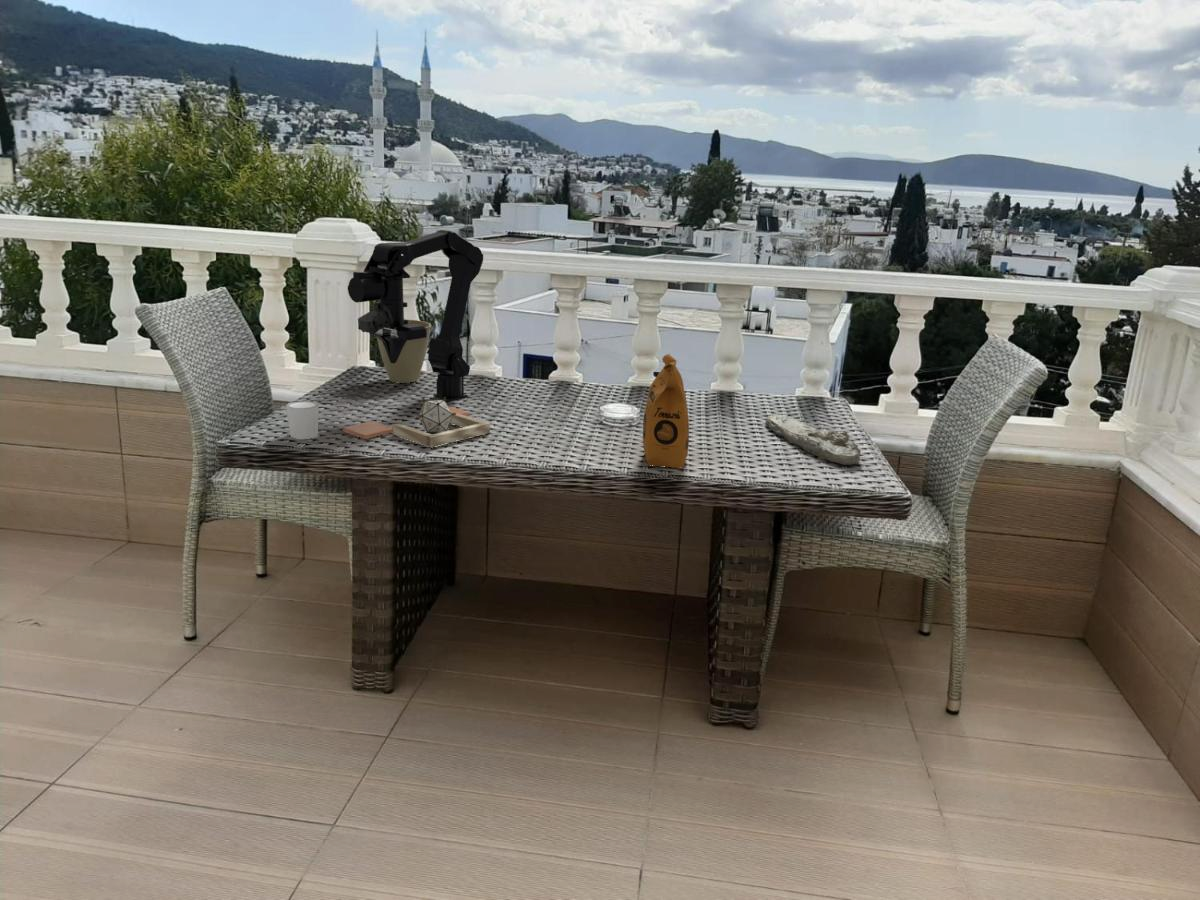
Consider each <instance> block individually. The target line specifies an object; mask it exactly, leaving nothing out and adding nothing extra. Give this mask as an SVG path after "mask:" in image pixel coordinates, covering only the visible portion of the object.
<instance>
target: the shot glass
mask: <svg viewBox="0 0 1200 900" xmlns="http://www.w3.org/2000/svg"><path fill="white" fill-rule="evenodd" d="M285 409H286V415H287V422H288V428H289V435H290V438H292V437H293V438H292V439H294V438H299V439H298V440H311V439H310V438H312V439H314V437H315V438H316V436H317V437H318V432H319V431H318V429H319V428H318V427H319V414H320V413H319V412H320V411H319V410H320V404H319V403H317V402H315V401H306V400H305V401H294V402H290V403H287V404H286V405H285Z"/></svg>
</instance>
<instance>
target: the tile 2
mask: <svg viewBox="0 0 1200 900" xmlns="http://www.w3.org/2000/svg"><path fill="white" fill-rule="evenodd" d="M448 407H449V408H450V410H451V411H452V412H454V413H458V414H461V415H464V416H468V417H470V416H469V414H470V412H469V411H467V410H463V409H459V408H457V407H453V406H451V405H448Z"/></svg>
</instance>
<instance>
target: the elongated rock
mask: <svg viewBox="0 0 1200 900" xmlns="http://www.w3.org/2000/svg"><path fill="white" fill-rule="evenodd" d="M764 425H765V427H766V428H769V429H770V430H771V431H773V432H774V433H776V434H777V435H778V436H779V437H781V438H783V439H785V440H786V441H788V442H789V443H790V444H792V445H795V446H798V447H800V448H802V449H803V450H804V451H805V452H808V453H809V454H812V455H814V456H816V457H818V458H819V459H821V460H823V461H829V462H831V463H836V464H840V465H844V466H845V465H846V466H847V465H854V464H858V462H860V459H861V456H860V455H861V449H859V448H858V444H856V443H855V442H854V441H852V440H851V439H850V438H849V437H850V435H849V434H848V433H847V432H846V431H839V430H836V431H833V430H818V429H817V428H816V427H814V426H811V425H808V424H806V423H805V422H802V421H800V420H798V419H795V418H794V417H792V416H791V415H790V416H788V415H786V414H772V415H769V416H767V418H766V419H765V422H764Z"/></svg>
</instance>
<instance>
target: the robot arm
mask: <svg viewBox="0 0 1200 900" xmlns="http://www.w3.org/2000/svg"><path fill="white" fill-rule="evenodd" d="M439 251H441V252H442V254H443V255H444V256H445V257H447V258H448V270H449V273H450V276H451V279H450V285H449V290H448V294H447V299H446V304H445V310H444V314H443V319H442V322H441V328H440V332H439V334H438V335H437V336H436V337H435V338H434V337H431V338H430V340H429V343H428V348H427V349H428V350H427V351H426V354H427V355H428V357H427V360H428V361H429V364H430V366H431V369H432V373H436V374H437V380H436V393H434V394H433V397H435V398H439V399H441V400H443V399H444V397H446V399H445V401H454V400H458V399H459V400H460V399H463V398H468V397H469V396H468V394H465V392H464V391H465V390H464V389H465V384H464V382H465V381H464V380H465V379H464V378H465V377H467V376H469V374H470V370H471V366H470V365H469V364H468V363H467V362H466V361H465V360H464V358H463V355H464V353H463V351H464V348H463V345H462V341H461V337H460V336H461V332H462V331H461V330H462V327H463V322H464V317H465V312H466V308H467V303H468V299H469V293H470V289H471V286H472V285H471V284H472V283H473V281H474V280H475V279H476V277H477V276H478V275H479V274H480V271H481V268H482V266H483V265H482V264H483V263H484V254H483V253H482V250H481V249H480V248H479V246H475V245H473V244H472V243H471V242H469V241H467V240H466V239H464V238H463V237H460V235H458V234H457V233H456V232H455V231H453V230H446V229H439V230H438V231H436V232H432V233H429V234H426V235H423V236H419V237H417V238H413V239H410V240H406V241H404V242H402V241H400V242H381V243H377V244H376V245H375V246H374V248H373V251H372V254H371V256H370V258H369V260H368V261H367V264H366V265H365V267H364V269H363V271H353V272H352V274H353V275H352V276H353V277H352V278H350V280H349V282H348V285H347V292H348V296H349V298H350V299H351V300H352V301H353V302H354V303H357V304H358V303H365V302H373V301H375V302H374V304H373V310H371V311H368V312H366V313H365V314H363V315H362V316H360V317H358V318H357V323H358V324H357V325H358V327H357V328H358V330H359V331H361V332H362V333H368V334H370V335H373V336H374V337H376V338H377V337H378V338H379V339H380V340H381V341H382V342H383V345H384V347H385V349H386V352H387V355H388V357H389V360H390V363H393V364H394V363H396V362H397V360H398V357H399V355H400V353H401V351H402V349H403V347H404V345H405V343H406V341H407V340H414V339H420V338H426V337H427V329H426V328H425V327H424V326H423V325H418V324H409V325H405V324H408V320H409V319H405V311H404V309H405V308H407V307H408V302H406V301H404V280H403V279H410V278H411V275H410V274H409V273H408V272H407V271H406V270H405V268H406V267H408V266H410V265H411V264H412V262H413V261H415V260H416V259H418V258H421V257H424V256H427V255H431V254H433V253H437V252H439ZM376 301H378V302H376ZM395 328H396V329H395Z"/></svg>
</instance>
